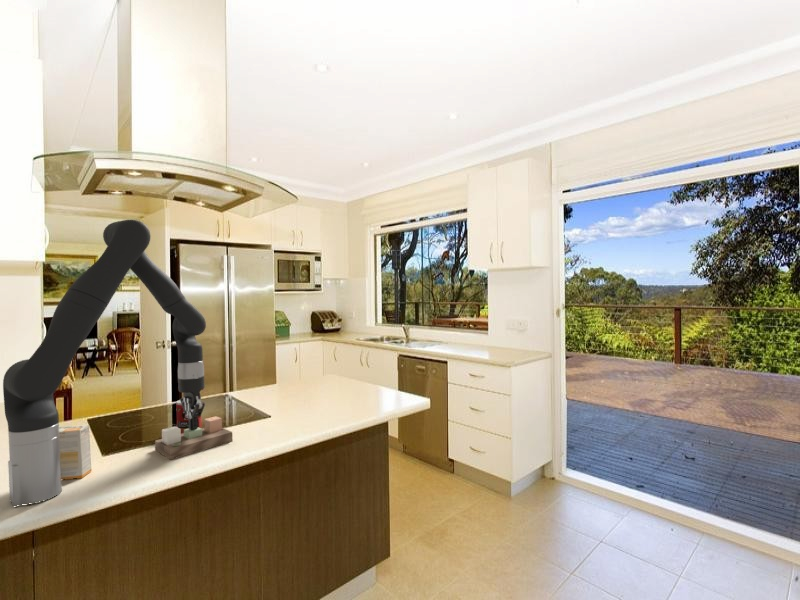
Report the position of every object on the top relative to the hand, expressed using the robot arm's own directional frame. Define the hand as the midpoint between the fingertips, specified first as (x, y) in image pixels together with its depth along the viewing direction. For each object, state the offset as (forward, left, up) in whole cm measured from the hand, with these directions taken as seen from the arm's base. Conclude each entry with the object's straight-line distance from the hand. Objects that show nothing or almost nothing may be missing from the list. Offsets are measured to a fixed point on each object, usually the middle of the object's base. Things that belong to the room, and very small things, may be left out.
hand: (193, 429), depth 134 cm
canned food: (+5, +15, -5) cm, 17 cm away
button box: (0, -1, -5) cm, 5 cm away
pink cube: (+6, 0, -2) cm, 7 cm away
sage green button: (0, 0, -4) cm, 4 cm away
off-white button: (-7, 0, -2) cm, 7 cm away
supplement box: (-31, +3, -5) cm, 32 cm away
